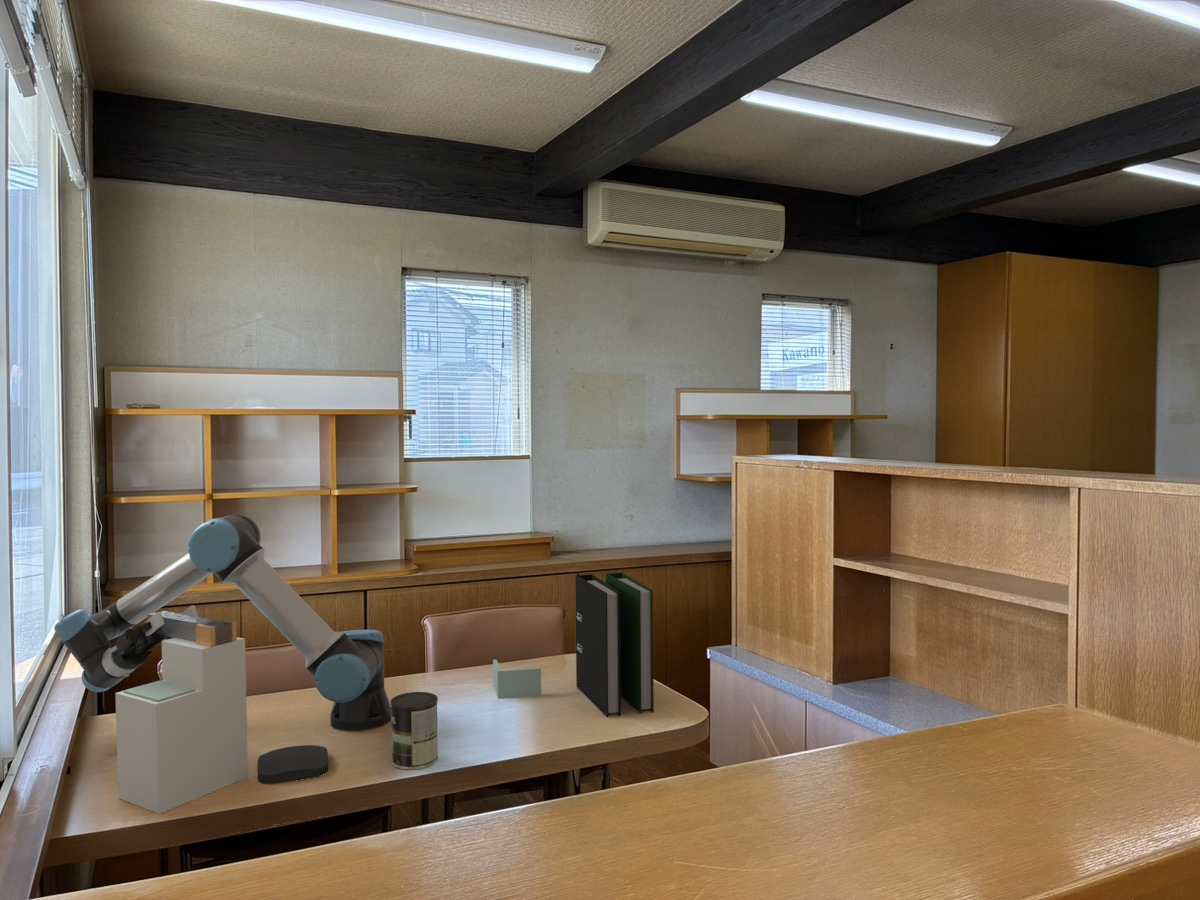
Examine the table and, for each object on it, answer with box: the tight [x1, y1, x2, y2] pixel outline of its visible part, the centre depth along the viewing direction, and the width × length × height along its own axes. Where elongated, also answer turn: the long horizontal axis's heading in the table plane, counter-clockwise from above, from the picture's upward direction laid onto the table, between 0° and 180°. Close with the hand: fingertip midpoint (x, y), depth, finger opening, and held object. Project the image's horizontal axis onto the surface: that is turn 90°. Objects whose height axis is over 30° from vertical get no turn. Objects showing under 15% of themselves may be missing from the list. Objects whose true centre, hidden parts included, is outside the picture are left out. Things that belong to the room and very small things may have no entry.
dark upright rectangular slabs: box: [574, 572, 655, 718], centre depth 233 cm, size 27×15×32 cm, turn 17°
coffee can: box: [390, 691, 439, 771], centre depth 192 cm, size 10×10×14 cm
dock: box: [114, 636, 249, 815], centre depth 179 cm, size 14×20×30 cm
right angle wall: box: [492, 659, 542, 699], centre depth 242 cm, size 12×12×8 cm
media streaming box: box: [256, 744, 329, 785], centre depth 189 cm, size 15×15×3 cm
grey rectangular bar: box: [147, 610, 238, 647], centre depth 185 cm, size 24×6×4 cm, turn 59°
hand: (177, 614), depth 187 cm, fingers open, 7 cm apart
